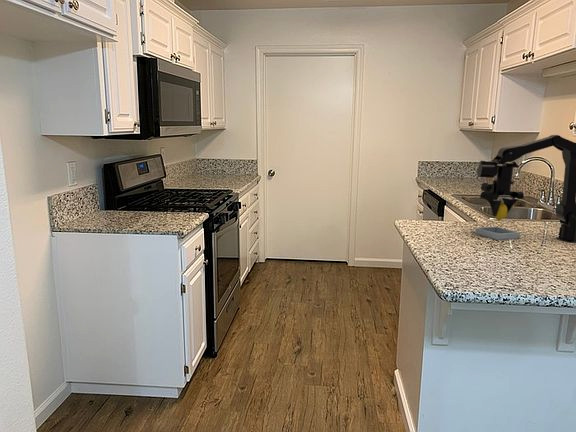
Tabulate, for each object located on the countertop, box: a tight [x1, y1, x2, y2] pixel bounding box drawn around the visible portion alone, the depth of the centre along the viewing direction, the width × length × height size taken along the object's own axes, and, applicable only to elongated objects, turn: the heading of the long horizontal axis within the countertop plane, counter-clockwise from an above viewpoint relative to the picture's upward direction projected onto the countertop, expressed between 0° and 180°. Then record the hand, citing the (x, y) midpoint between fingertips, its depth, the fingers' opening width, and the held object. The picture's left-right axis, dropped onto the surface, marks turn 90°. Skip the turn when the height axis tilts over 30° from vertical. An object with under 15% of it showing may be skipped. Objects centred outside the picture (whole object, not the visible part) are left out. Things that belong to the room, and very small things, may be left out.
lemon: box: [493, 201, 508, 222], centre depth 185 cm, size 6×6×8 cm
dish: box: [474, 226, 521, 241], centre depth 187 cm, size 12×12×2 cm
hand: (499, 215), depth 186 cm, fingers closed on lemon, 5 cm apart
